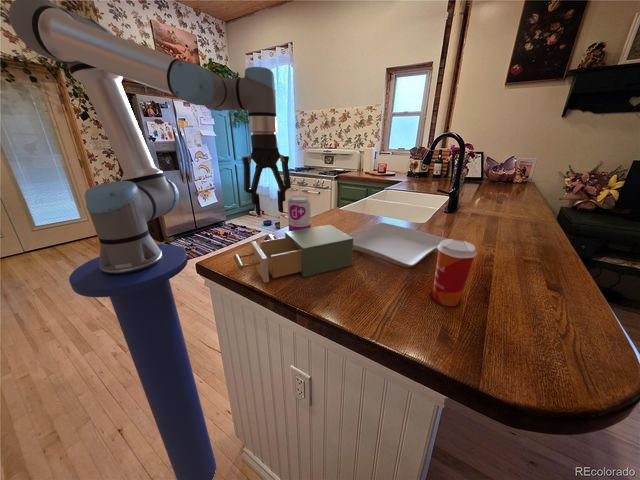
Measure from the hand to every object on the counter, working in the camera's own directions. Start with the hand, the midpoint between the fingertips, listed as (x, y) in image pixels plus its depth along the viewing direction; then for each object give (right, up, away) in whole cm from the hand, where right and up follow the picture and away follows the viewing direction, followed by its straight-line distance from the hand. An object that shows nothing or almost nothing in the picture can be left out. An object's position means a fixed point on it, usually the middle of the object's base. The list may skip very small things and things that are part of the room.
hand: (269, 212), depth 80 cm
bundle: (0, -12, +5) cm, 13 cm away
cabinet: (+15, -15, -2) cm, 22 cm away
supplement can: (+8, -8, +16) cm, 20 cm away
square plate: (+41, -12, +7) cm, 43 cm away
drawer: (+3, -17, -9) cm, 19 cm away
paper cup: (+45, -23, -20) cm, 55 cm away
